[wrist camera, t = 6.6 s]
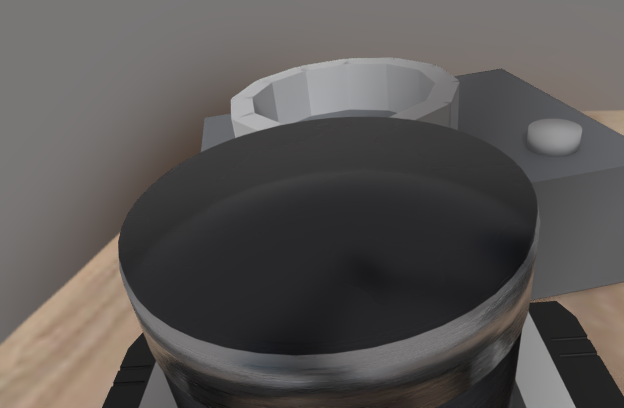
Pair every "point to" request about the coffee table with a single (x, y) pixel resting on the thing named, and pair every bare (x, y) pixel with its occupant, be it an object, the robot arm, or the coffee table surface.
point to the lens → (336, 268)
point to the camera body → (484, 125)
